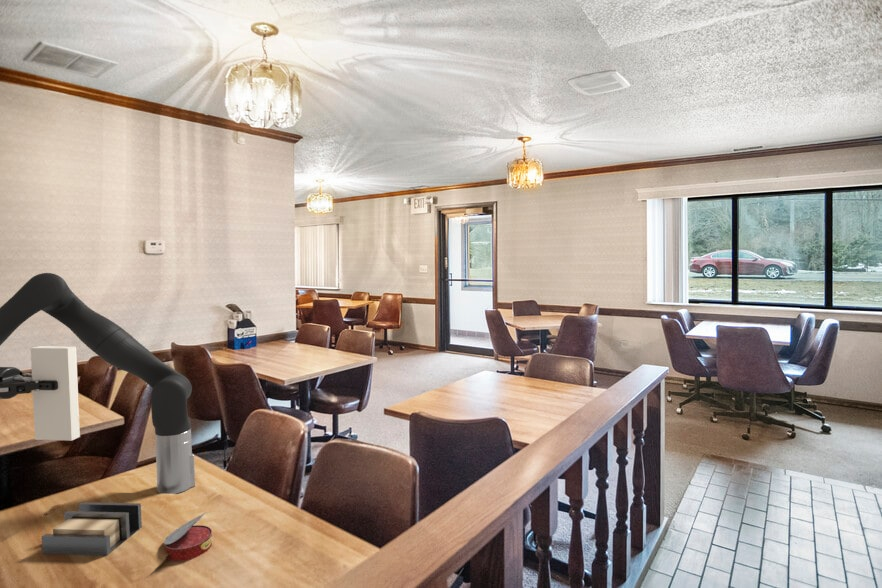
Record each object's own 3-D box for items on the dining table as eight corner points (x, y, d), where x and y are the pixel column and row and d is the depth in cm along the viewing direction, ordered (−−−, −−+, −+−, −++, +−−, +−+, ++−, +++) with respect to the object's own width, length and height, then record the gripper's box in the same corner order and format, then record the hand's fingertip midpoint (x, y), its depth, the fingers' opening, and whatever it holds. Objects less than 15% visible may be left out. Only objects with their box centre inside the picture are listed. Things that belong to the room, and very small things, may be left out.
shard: (72, 525, 124) (71, 518, 124) (34, 533, 121) (34, 526, 121) (82, 506, 134) (81, 500, 134) (47, 512, 131) (47, 506, 130)
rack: (42, 560, 109) (41, 527, 108) (83, 531, 120) (81, 502, 120) (107, 561, 108) (106, 529, 108) (142, 532, 120) (140, 503, 119)
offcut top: (53, 539, 110) (52, 528, 110) (69, 528, 114) (69, 518, 114) (104, 540, 109) (104, 530, 109) (119, 529, 114) (118, 519, 114)
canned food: (185, 581, 108) (162, 554, 104) (167, 559, 115) (145, 533, 110) (229, 540, 115) (210, 513, 111) (210, 521, 122) (191, 495, 117)
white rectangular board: (35, 439, 115) (30, 347, 114) (44, 436, 118) (39, 346, 116) (71, 440, 115) (67, 348, 113) (79, 436, 117) (76, 346, 116)
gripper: (-39, 373, 109) (35, 374, 108) (18, 361, 123) (84, 362, 122) (-37, 406, 109) (37, 407, 109) (19, 390, 123) (85, 391, 122)
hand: (61, 383), depth 115 cm, fingers closed on white rectangular board, 2 cm apart
